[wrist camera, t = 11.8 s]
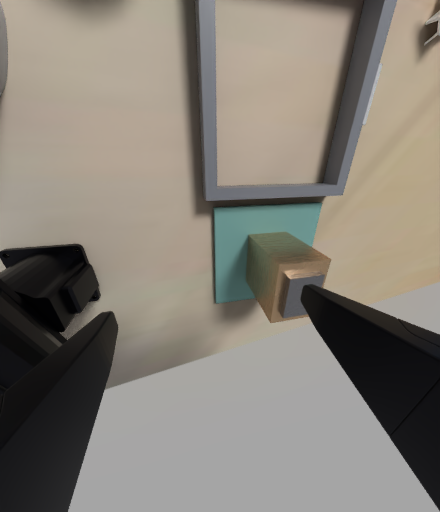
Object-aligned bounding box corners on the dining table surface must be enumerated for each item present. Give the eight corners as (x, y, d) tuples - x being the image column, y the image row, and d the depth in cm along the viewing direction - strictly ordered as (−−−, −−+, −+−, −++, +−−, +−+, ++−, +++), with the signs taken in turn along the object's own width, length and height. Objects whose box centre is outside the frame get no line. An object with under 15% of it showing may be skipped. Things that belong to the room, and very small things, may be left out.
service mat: (215, 300, 24) (216, 303, 24) (213, 207, 19) (214, 208, 18) (298, 288, 26) (301, 291, 26) (318, 202, 21) (322, 203, 20)
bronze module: (245, 280, 23) (273, 328, 16) (248, 234, 20) (283, 269, 14) (279, 276, 24) (319, 320, 17) (286, 231, 21) (336, 262, 14)
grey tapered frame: (203, 197, 18) (206, 200, 16) (191, -83, 11) (193, -130, 9) (333, 192, 21) (347, 194, 19) (391, -37, 14) (423, -67, 12)
